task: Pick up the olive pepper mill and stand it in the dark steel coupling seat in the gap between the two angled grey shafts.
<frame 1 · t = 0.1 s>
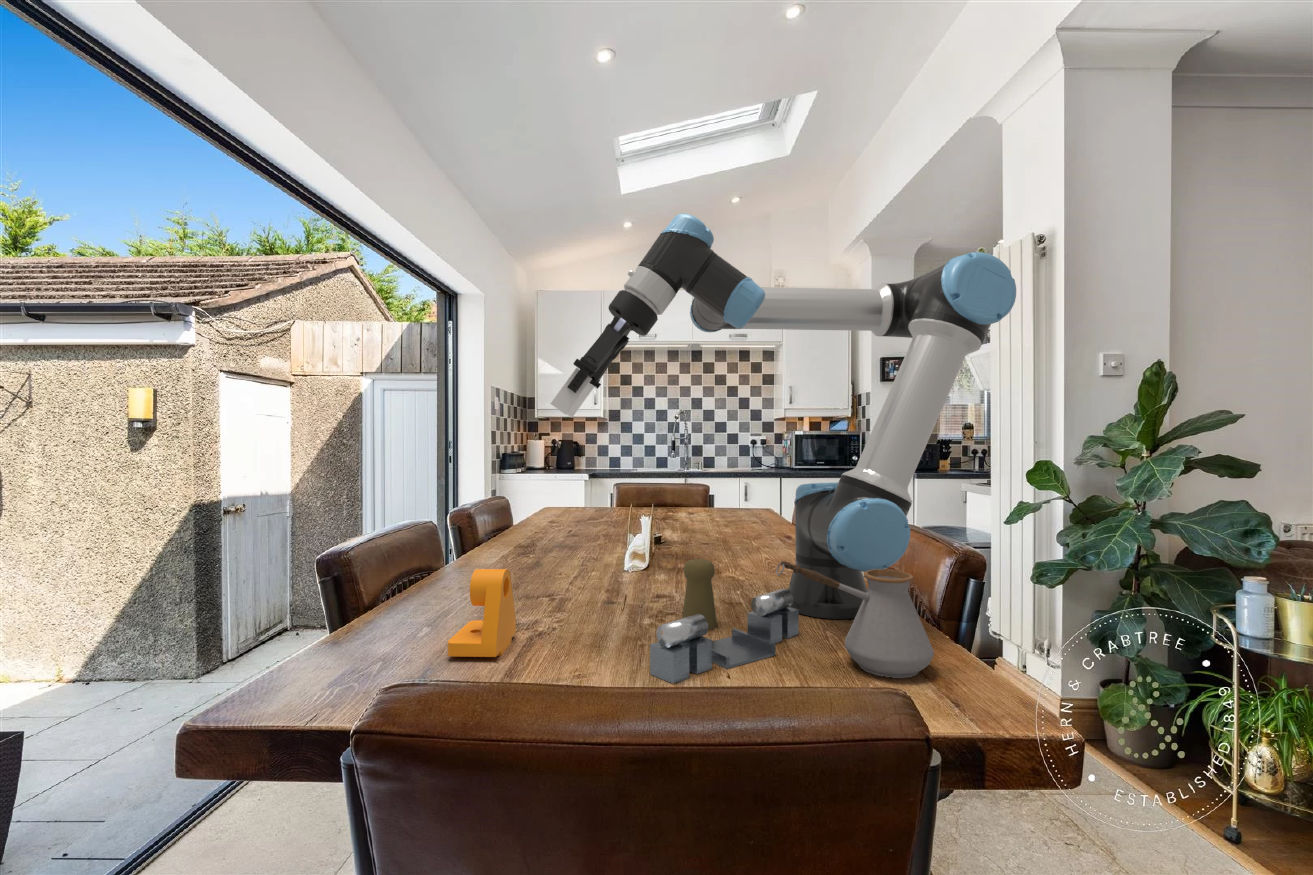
hand: (561, 411, 96), 36 cm above the table, tool tilted 35°, fingers open, 13 cm apart
coupling seat: (731, 652, 90), on the table
shaft b: (772, 636, 97), on the table
olive pepper mill: (699, 626, 103), on the table
bracket: (482, 650, 92), on the table
shaft a: (682, 670, 83), on the table
coffee pot: (853, 670, 83), on the table
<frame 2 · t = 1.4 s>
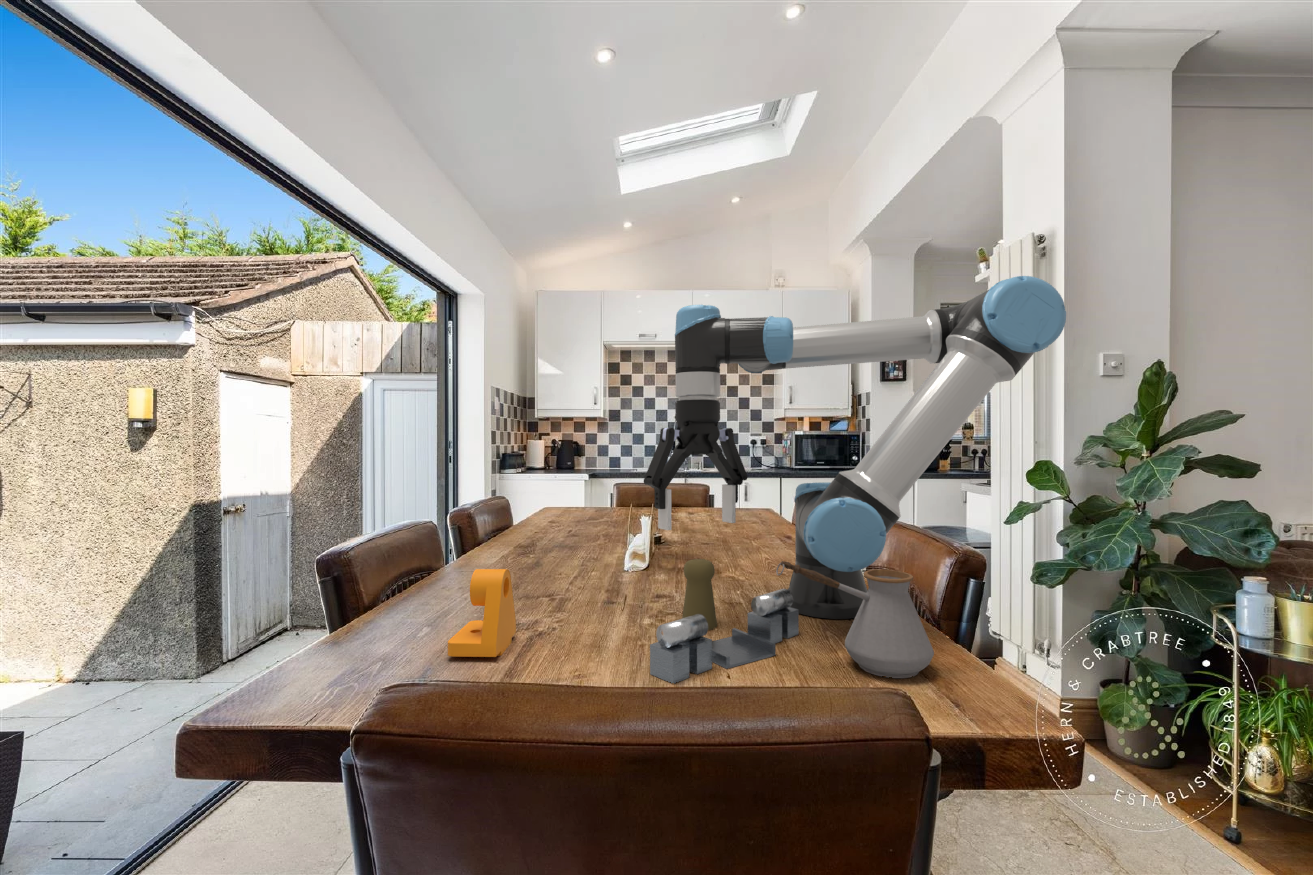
hand: (697, 525, 102), 17 cm above the table, tool pointing down, fingers open, 13 cm apart
nothing on the table moved.
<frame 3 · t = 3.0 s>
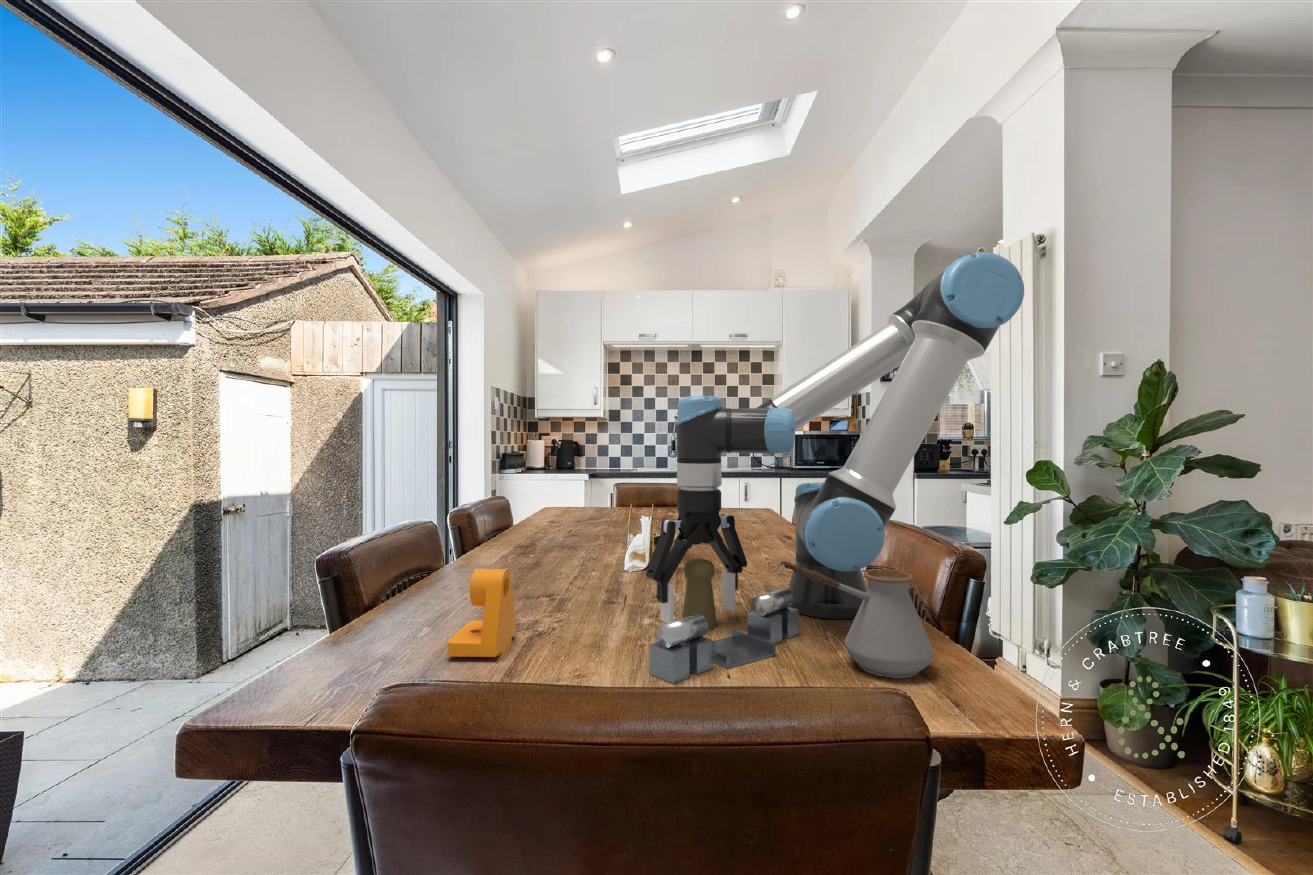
hand: (698, 615, 103), 2 cm above the table, tool pointing down, fingers open, 12 cm apart
nothing on the table moved.
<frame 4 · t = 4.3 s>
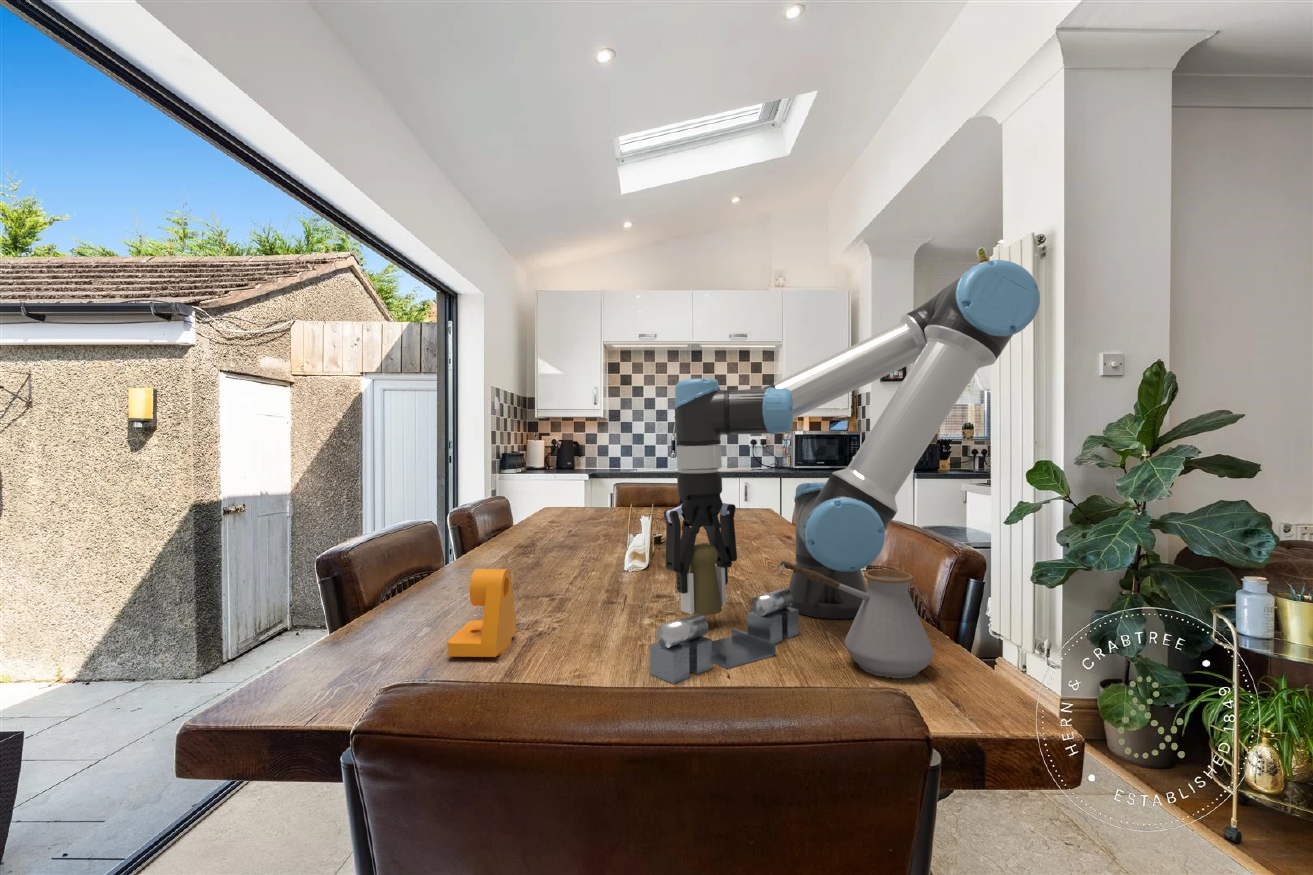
hand: (703, 607, 103), 3 cm above the table, tool pointing down, fingers closed on olive pepper mill, 6 cm apart
olive pepper mill: (704, 611, 102), point 2 cm above the table, touching gripper
everything else where it was.
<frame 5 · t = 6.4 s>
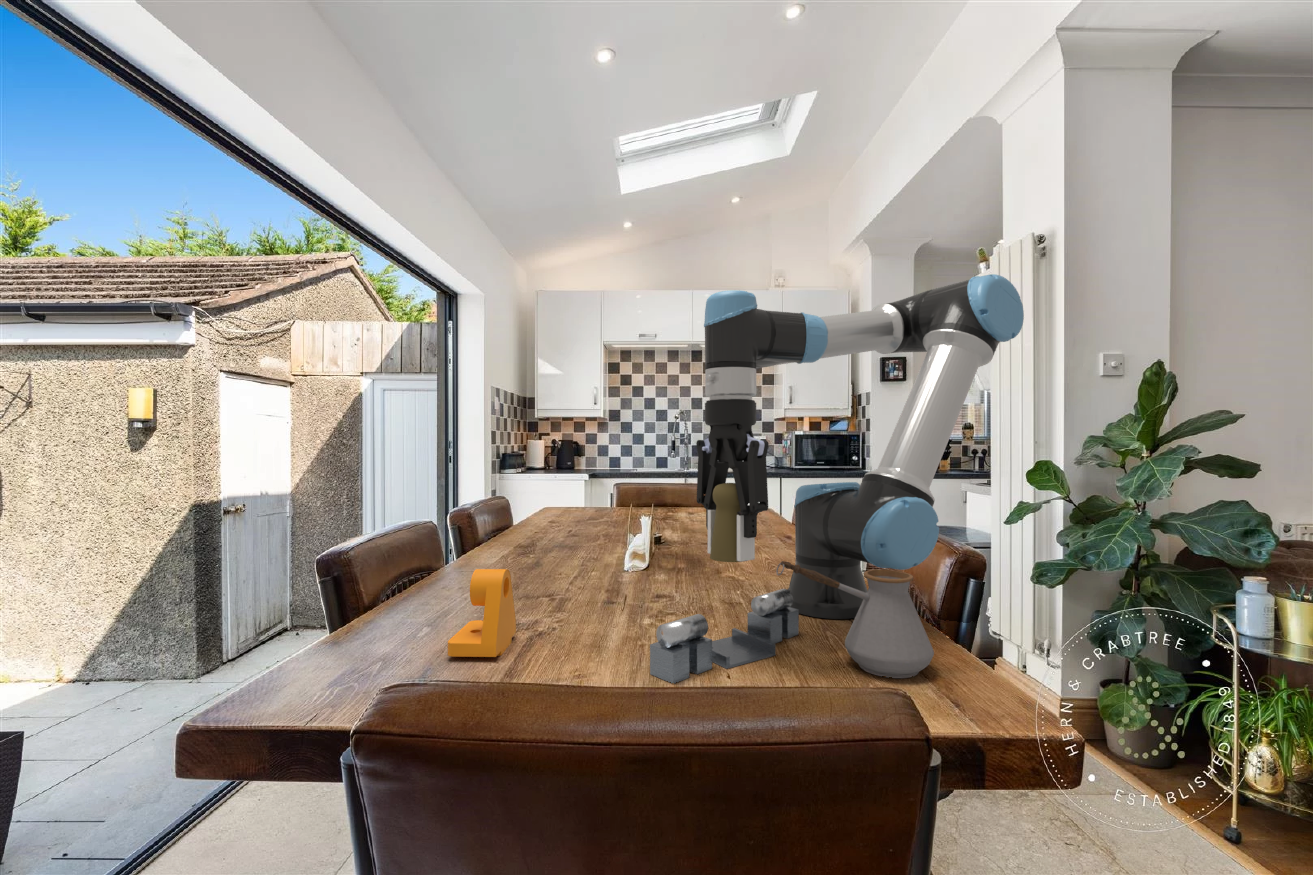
hand: (730, 555, 89), 14 cm above the table, tool pointing down, fingers closed on olive pepper mill, 6 cm apart
olive pepper mill: (730, 559, 89), point 14 cm above the table, touching gripper
everything else where it was.
when the fingers open (2 cm above the table, at t = 8.8 s): olive pepper mill drops 1 cm, resting on coupling seat.
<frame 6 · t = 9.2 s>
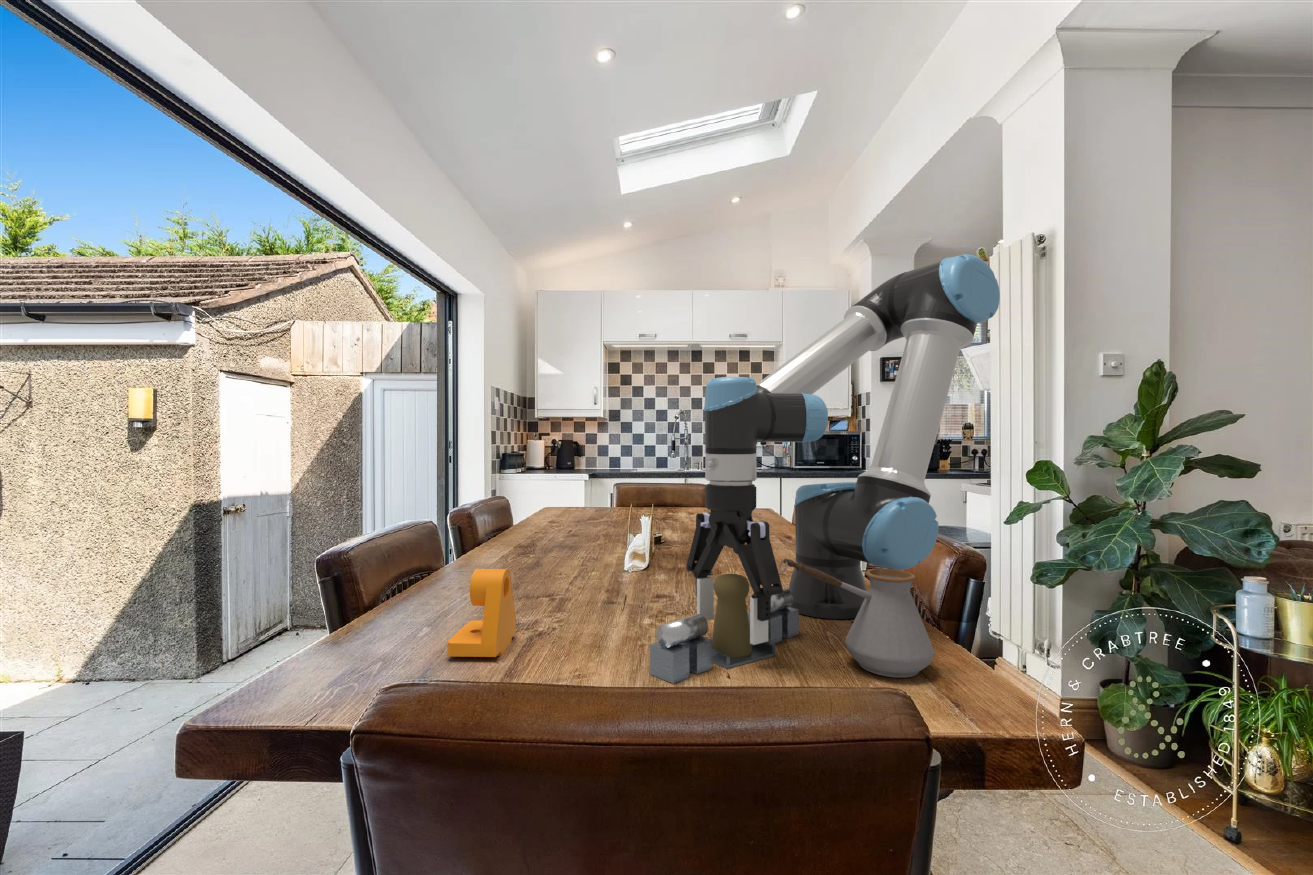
hand: (730, 630, 90), 3 cm above the table, tool pointing down, fingers open, 11 cm apart
olive pepper mill: (731, 651, 90), resting on coupling seat
coffee pot: (854, 669, 83), on the table, touching hand
everything else where it was.
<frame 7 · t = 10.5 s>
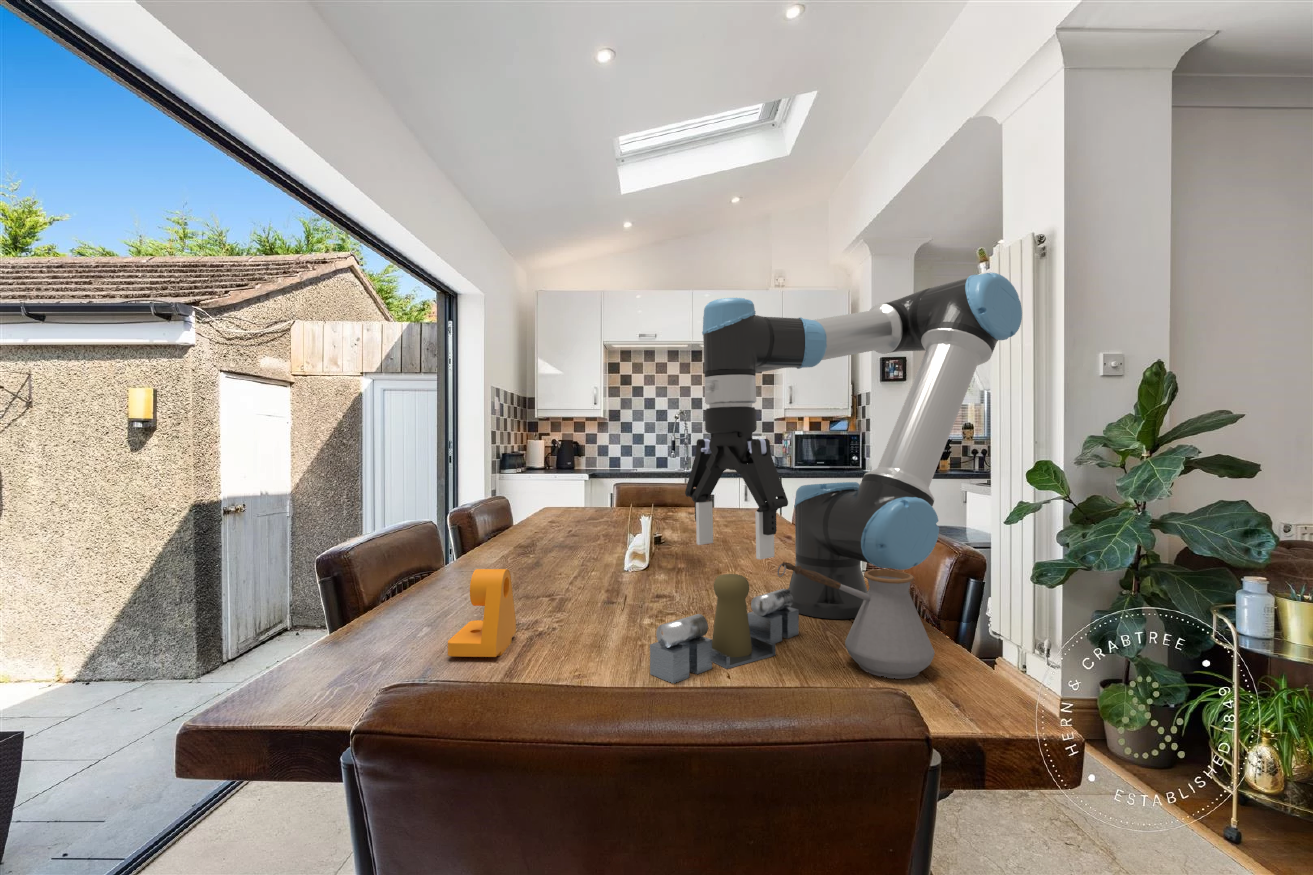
hand: (733, 550, 90), 15 cm above the table, tool pointing down, fingers open, 13 cm apart
coffee pot: (854, 671, 83), on the table
everything else where it was.
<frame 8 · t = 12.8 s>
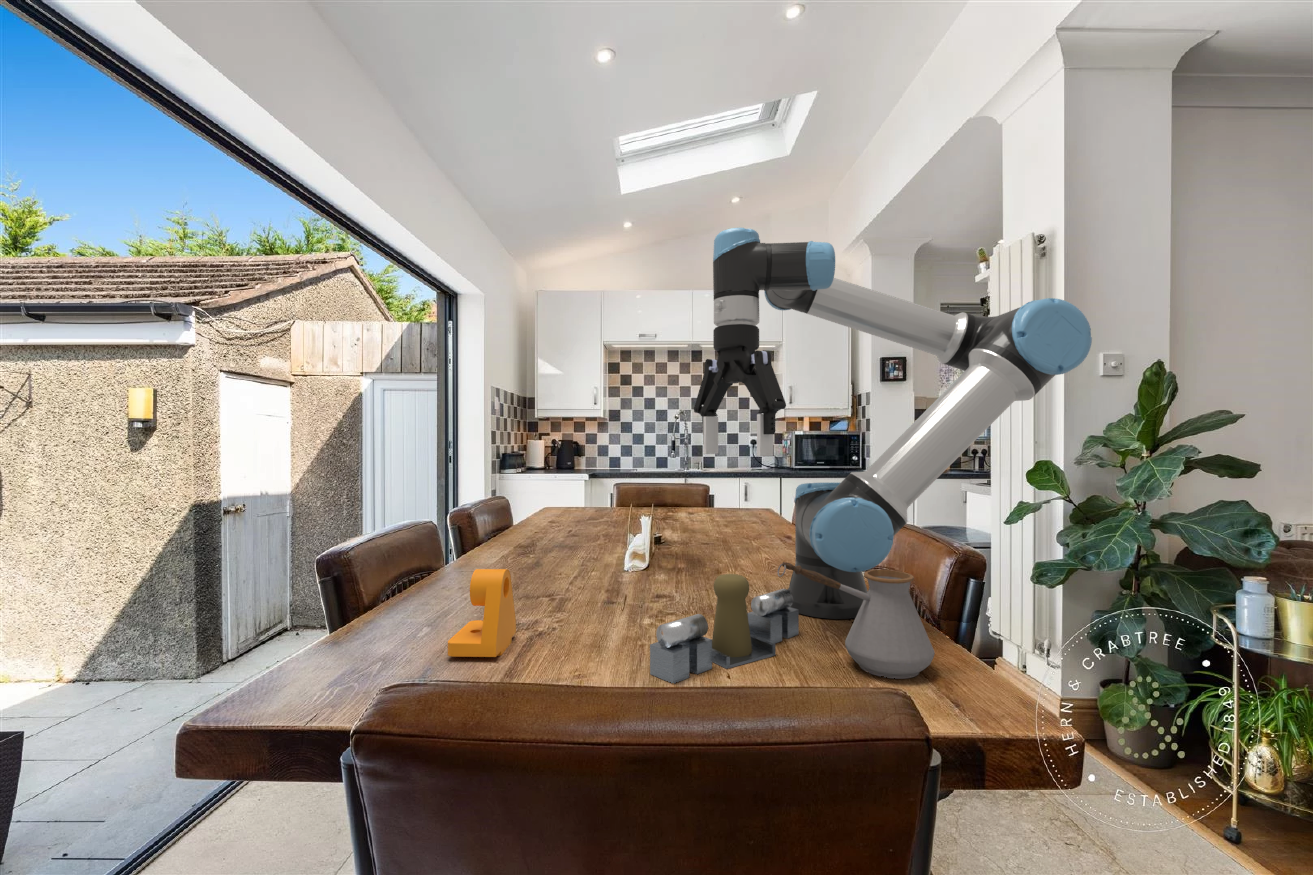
hand: (736, 455, 101), 29 cm above the table, tool pointing down, fingers open, 13 cm apart
nothing on the table moved.
at the end: olive pepper mill 0.1 cm off-centre on the coupling seat, point 0.2 cm above the coupling seat's base; olive pepper mill tilted 0°; the gripper is holding nothing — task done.
